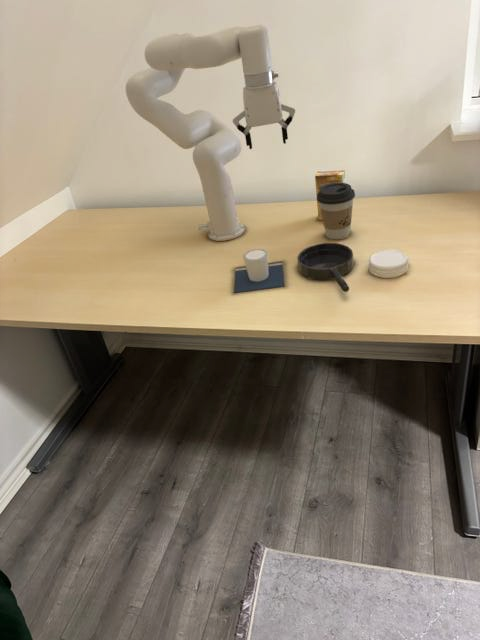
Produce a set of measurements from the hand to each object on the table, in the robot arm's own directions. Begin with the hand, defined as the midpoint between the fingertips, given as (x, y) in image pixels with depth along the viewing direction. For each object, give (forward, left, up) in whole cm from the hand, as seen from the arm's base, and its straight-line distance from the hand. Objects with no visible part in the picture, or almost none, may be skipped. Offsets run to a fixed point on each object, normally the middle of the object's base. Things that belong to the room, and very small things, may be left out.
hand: (267, 145), depth 141 cm
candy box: (+18, +12, -31) cm, 37 cm away
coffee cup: (+18, -1, -31) cm, 35 cm away
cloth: (-7, -21, -30) cm, 38 cm away
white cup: (-7, -21, -30) cm, 37 cm away
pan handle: (+14, -33, -28) cm, 46 cm away
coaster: (+28, -26, -31) cm, 49 cm away
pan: (+12, -20, -30) cm, 38 cm away
